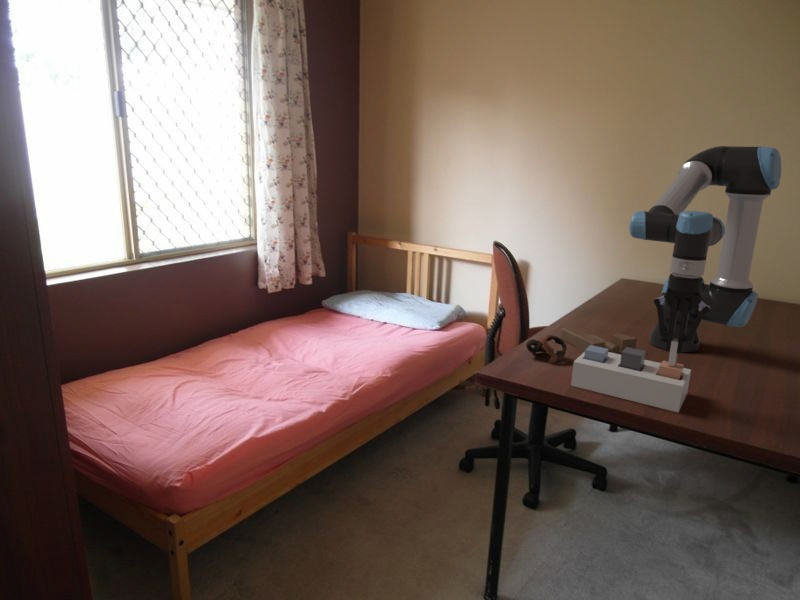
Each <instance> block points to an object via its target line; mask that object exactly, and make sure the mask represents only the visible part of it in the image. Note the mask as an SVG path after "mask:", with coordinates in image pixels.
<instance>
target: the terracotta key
mask: <svg viewBox="0 0 800 600" xmlns="http://www.w3.org/2000/svg"><path fill="white" fill-rule="evenodd" d="M668 361H669V360H668ZM668 361H667V360H662V361H661V362H660V363H661V364H660V366H659V371H658V375H659V376H663V377H668V378H672V379H677V380H681V378H682V372H683V368H684V366H685V365H684V364H681V363H677V362H676V364H675V366H670V365H668Z"/></svg>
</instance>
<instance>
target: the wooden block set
mask: <svg viewBox="0 0 800 600" xmlns="http://www.w3.org/2000/svg"><path fill="white" fill-rule="evenodd" d="M560 339H562V340H563V341H564V342H565V343H568V344H569V345H571V344H572V346H574V348H576V349H578V350H579V351H581V352H582V353H584V352H585V350H586V349H587V348H588V347H589V346H590V345H592V346H597V347H602V348H607V349H609V351H608V352H611V353H616V354H620V353H621V354H622V351H623V350H624V349H625V348H626V347H629V348H634V349H637V348H636V347H637V341H638V340H637V339H638V338H636V337H633V336H630V335H627V334H624V333H617V334H614V335H612V340H611V341H609V340H607V339H604V338H602V337H600V336H598V335H597V334H594V333H592V334H588V333H584V332H583V331H580V330H578V329H576V328H571V327H563V328H562V329H561V338H560Z"/></svg>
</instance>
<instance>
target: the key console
mask: <svg viewBox="0 0 800 600" xmlns="http://www.w3.org/2000/svg"><path fill="white" fill-rule="evenodd" d="M584 356H585V352H582V354H581V355H579V356H578V357H577V358H576V359H575V360H574V361H573V366H572V374H571V380H570V381H571V383H570V386H571V387H575V388H579V389H583V390H587V391H590V392H595V393H598V394H602V395H606V396H612V397H614V398H615V397H616V398H620V399H622V400H623V399H624V400H628V401H631V402H636V403H638V404H642V405H646V406H651V407H655V408H659V409H663V410H667V411H670V412H674V413H679V412H680V410H681V409H682V408H681V407H682V405H683V404H684V401H685V400H686V397H687V396H688V392H689V386H690V385H689V384H690V381H691V380H690V378H691V375H692V374H691V372H692V369H690V368H685V367H683V372H682V378H681V380H677V379H672V378H668V377H663V376H659V375H658V371H659V366H660V364H661V363H662V362H657V361H653V360H649V359H648V360H647V359H645V360H644V367H643V369H642V371H637V370H632V369H628V368H623V367H620V362H621V354H620V353H618V354H616V353H611V352H608V358H607V361H606V362H605V363H601V362H596V361H592V360H587V359H584Z"/></svg>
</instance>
